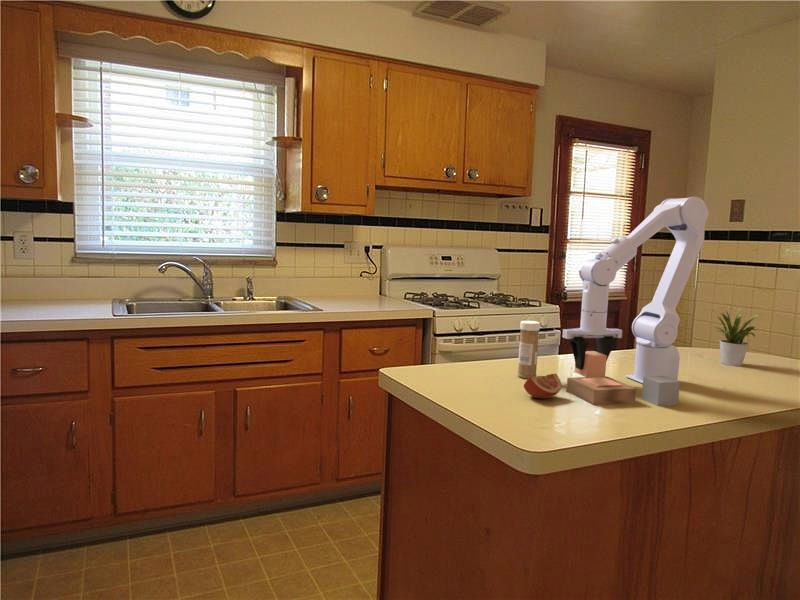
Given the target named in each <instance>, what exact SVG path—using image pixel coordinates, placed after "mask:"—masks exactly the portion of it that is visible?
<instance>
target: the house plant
mask: <svg viewBox="0 0 800 600" xmlns="http://www.w3.org/2000/svg"><path fill="white" fill-rule="evenodd" d="M741 308H742V306H740V307H739V309H738V310H737V312H736V315H735V318H734V322H733V326H732V322H731V318H730V315H729V312H728V311H727V310H726V309H722V310H720V312H719V315H721V316H722V317H721V316H716V318H717V319H718V321H720V322H721V324H722V326H723V328H724V329H723V328H720V326H719V327H718V326H713V327H712V329H717V330H719V332H720V333H723V336H725V338H726V339H720V340H719V350H720V363H721V364H723V365H727V366H732V367H741V366H743V364H744V359H745V357H746V353H747V350H748V347H749V343H748V342H746V341H744V339H745V337H746V338H749V335H751V336H753V338H756V334H755V332H752V331H756V330H757V331H758V328H756V326H754V325H753V326H751V325H750V326H748V325H749V324H750V323H751V322H753V321H754V320H755V319H756V318H759V316H760V315H761V314H755V315H753V316H751V317H750V318H748V319H747V320H746V321H745V322H744V323H743V324H742V326H741V321H742V319H743V318H744V317H742V316H743V314H742V315H741V313H740V310H741ZM706 310H708V311H709V309H708V308H706ZM710 311H712V312H713V313H715V314H717V312H716V311H714V310H712V309H710ZM724 311H725V312H726V314H727V315H726V314H725V312H724ZM746 312H747V311H745V312H744V314H746ZM722 318H723V319H722ZM723 320H724V321H725V322H724V321H723ZM740 326H741V328H740ZM747 326H748V327H747Z"/></svg>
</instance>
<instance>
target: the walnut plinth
mask: <svg viewBox="0 0 800 600" xmlns="http://www.w3.org/2000/svg"><path fill="white" fill-rule="evenodd" d="M566 378H567V380H566V392H567V393H568V394H570V395H572V396H575V397H577V398H579V399H580V400H582V401H584V402H585V403H588V404H590V405H592V406H599V405H602V406H603V405H621V404H622V405H623V404H624V405H625V404H635V403H636V396H637V395H636V394H637V388H636V387H633V386H631V385H629V384H627V383H624V382H622V381H619V380H617V379H614V378H611V377H610V376H606V375H605V376H604V377H584V376H583V377H582V376H581V377H580V376H578V377H566Z"/></svg>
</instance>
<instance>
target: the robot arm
mask: <svg viewBox="0 0 800 600" xmlns="http://www.w3.org/2000/svg"><path fill="white" fill-rule="evenodd" d="M709 216H710V211H709V209H708V207H707V205H706V202H705V201H704V200H703V199H702V198H701V197H698V196H690V197H684V198H683V197H681V198H672V197H671V198H670V197H669V198H666V199H664V200H663V201H661V203H660V204H658V205H656V206H655V207H654V209H653V210H652V211H651V213H650V214H649V215H648V216H647V217H645V219H644V220H642V222H641V223H639V224H638V226H636V227H635V228H634V229H633V230H632V231H631V232H630V233H629V234H628V235H627V236H618V237H614V238H612V239H611V240H610V244H609V245H607V247H605V248H604V249H603V250H602V251H600V252H597V253H596V254H595V258H590V259H589V258H588V259H587V260H585V262H584V263H583V264H582V265H581V268H580V269H579V270H578V275H579V278H580V280H581V281H582V298H581V309H580V311H581V312H580V324H579V325H580V326H579V327H576V328H575V327H574V328H563V329H562V338H563V339H566V340H567V342H568V344H569V345H570V348H571V351H572V353H573V354H572V355H573V359H574V365H575V364H576V368H578V369H580V370H583V367H584V360H585V353H586V351H587V348H588V346H589V342H588V341H586V340H585V339H595V344H596V345H595V346H596V352H598V353H601V354H604V355H607V359H606V362H607V361H608V359H609V356H610V354H611V353H612V351H613V349H614V348H615V346H616V345H617V340H618V339H622V338H623V329H619V328H608V327H607V318H608V306H609V295H610V284H611V283H612V282H613V281H614V280H615V279H616V276H617V272H618V271H619V270H620V269H622V268H623V267H624V266H625V265H626V264H627V263H629V262H631V260H632V259H633V258H635V257H636V256H637V252H638V247H639V246H641V245H642V244H644V243H645V242H646V241H648V240H649V239H650V238H652V237H653V236H654V235H655V234H656V233H658V232H659V231H661V230H662V229H663V228H667V229H668V231H669V232H670V233H671V234H672V235H673V236H674V239H675V241H676V242H675V244H674V247H673V249H672V252H671V253H670V256H669V258H668V261H667V263H666V265H665V268H664V271H663V273H662V276H661V278H660V280H659V283H658V286H657V288H656V290H655V293H654V295H653V298H652V300H651V302H649V303H647V304H646V305H645V306H643V307H642V308H641V311H640V312H639V314H638V315H637V316H636V317H635V318H634V319H633V321H632V324H631V332H632V334H633V336H634V337H635V342H636V346H635V358H634V359H635V361H634V370H633V371H634V372H633V374H626V375H625V377H626V378H629V379H631V380H633V381H636V382H638V383H640V384H643V377H644V376H665V377H668V378H671V379H673V380H676V381H679V379H678V378H679V369H680V368H679V367H680V357H681V356H680V352H679V349H678V348H677V346H675V345H673V344H674V343H675V341H676V339H677V337H678V334H679V333H678V330H679V329H678V327H679V324H680V321H681V318H680V316H679V314H678V312H677V311H676V309H677V307H678V304H679V302H680V299H681V297H682V295H683V292H684V289H685V288H686V285H687V283H688V280H689V277H690V276H691V273H692V270H693V268H694V265H695V263H696V262H697V259H698V256H699V254H700V250H701V249H702V246H703V244H704V242H705V232H706V231H705V227H706V223H707V220H708V217H709ZM615 338H616V339H615Z"/></svg>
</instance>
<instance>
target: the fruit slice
mask: <svg viewBox="0 0 800 600" xmlns="http://www.w3.org/2000/svg"><path fill="white" fill-rule="evenodd" d="M562 387H563V386H562V381H561V380H560V377H559V376H558V375H557V373H551V374H547V375H537V376H533V377H530V378H529V379H526V381H525V382H524V385H523V388H524V390H525V391H526V393H527V394H529V395H530V396H531V397H533V398H536V399H548V398H551V397H554V396H556V395H557V394H558V393H559V392H560V391H561V390H562Z"/></svg>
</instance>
